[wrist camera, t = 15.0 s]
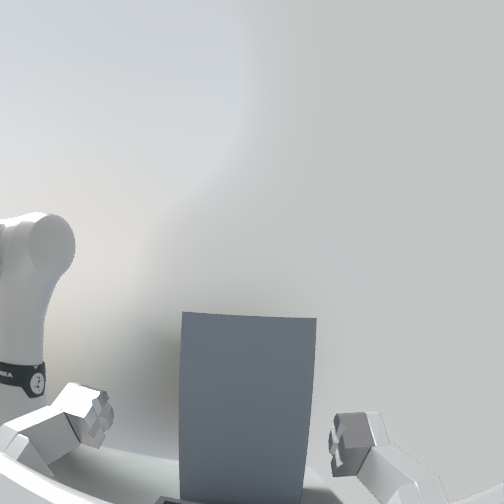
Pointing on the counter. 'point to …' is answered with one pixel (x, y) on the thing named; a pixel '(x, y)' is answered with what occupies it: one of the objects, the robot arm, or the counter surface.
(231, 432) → the slate stand
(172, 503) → the charcoal tray
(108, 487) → the counter surface
